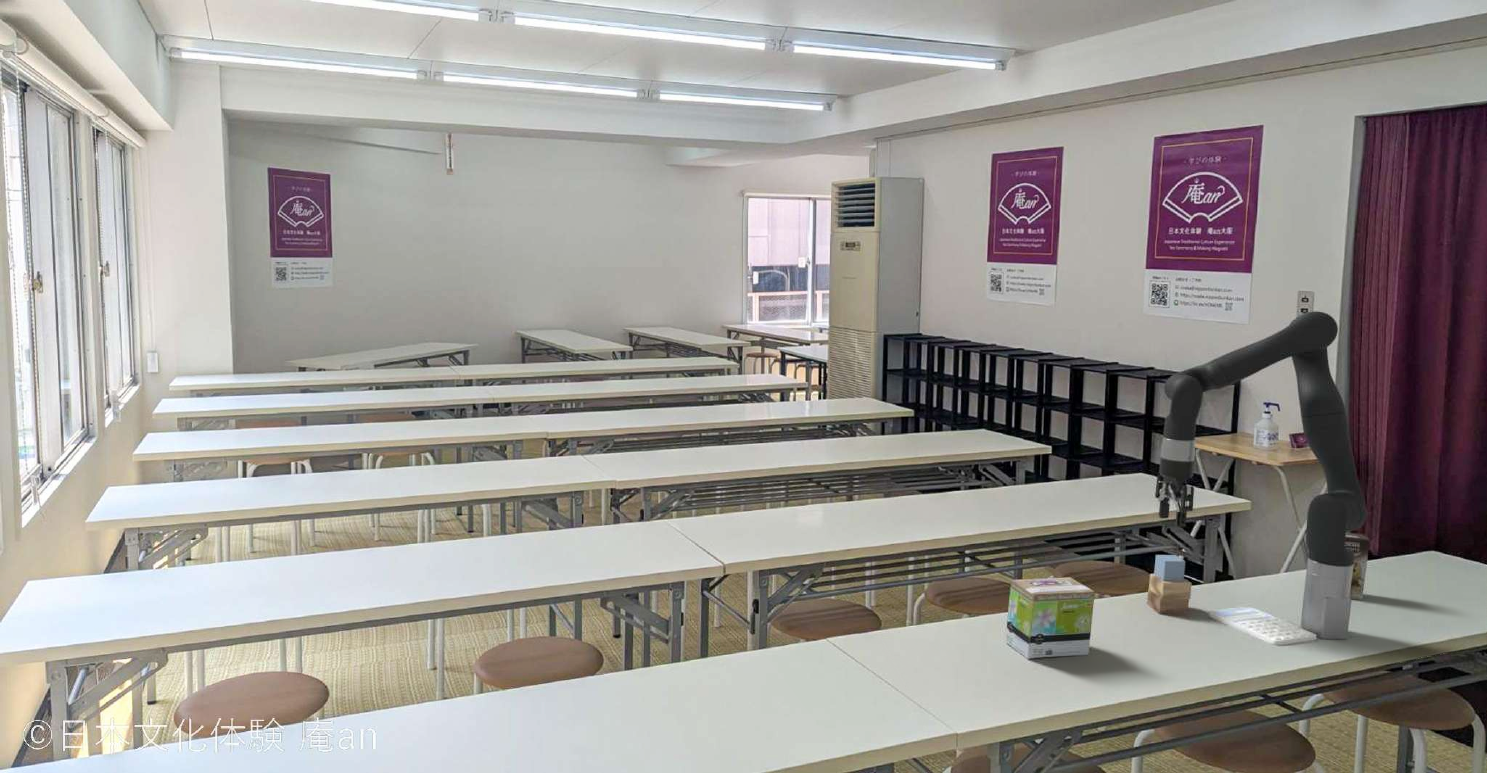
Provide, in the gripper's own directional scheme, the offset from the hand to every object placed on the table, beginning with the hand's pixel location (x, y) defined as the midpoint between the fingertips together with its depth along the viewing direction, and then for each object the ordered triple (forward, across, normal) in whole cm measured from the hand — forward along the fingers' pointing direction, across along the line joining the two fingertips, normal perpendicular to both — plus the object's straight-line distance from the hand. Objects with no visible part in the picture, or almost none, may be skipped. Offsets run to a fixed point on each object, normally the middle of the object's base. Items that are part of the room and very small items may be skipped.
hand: (1171, 522), depth 251 cm
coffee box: (+22, +12, -53) cm, 59 cm away
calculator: (+23, -12, -18) cm, 31 cm away
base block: (+22, 0, 0) cm, 22 cm away
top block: (+18, 0, -1) cm, 18 cm away
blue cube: (+14, 0, 0) cm, 14 cm away
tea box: (+22, -26, +39) cm, 52 cm away
